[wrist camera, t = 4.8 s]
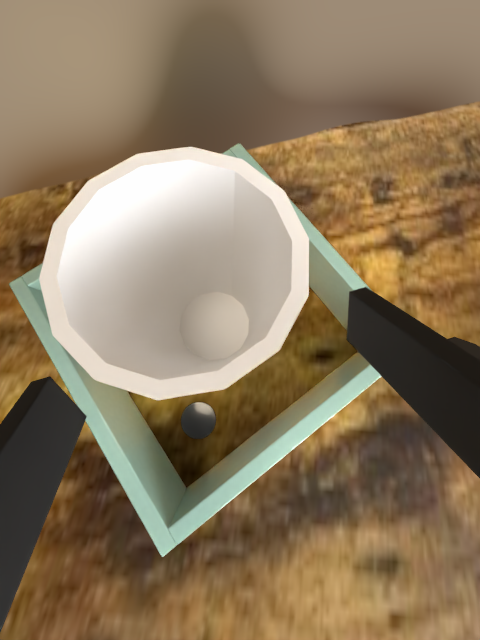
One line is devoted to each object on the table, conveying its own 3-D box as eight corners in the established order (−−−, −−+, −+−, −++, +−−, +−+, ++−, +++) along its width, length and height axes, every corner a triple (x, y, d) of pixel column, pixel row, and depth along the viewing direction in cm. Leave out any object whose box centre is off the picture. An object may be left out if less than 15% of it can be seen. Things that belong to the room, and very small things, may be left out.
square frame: (183, 508, 18) (161, 558, 13) (60, 303, 22) (7, 283, 17) (377, 350, 21) (420, 344, 16) (239, 188, 24) (239, 142, 19)
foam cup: (145, 362, 21) (-11, 346, 8) (181, 265, 22) (103, 125, 10) (252, 395, 20) (273, 437, 7) (280, 292, 22) (337, 182, 9)
